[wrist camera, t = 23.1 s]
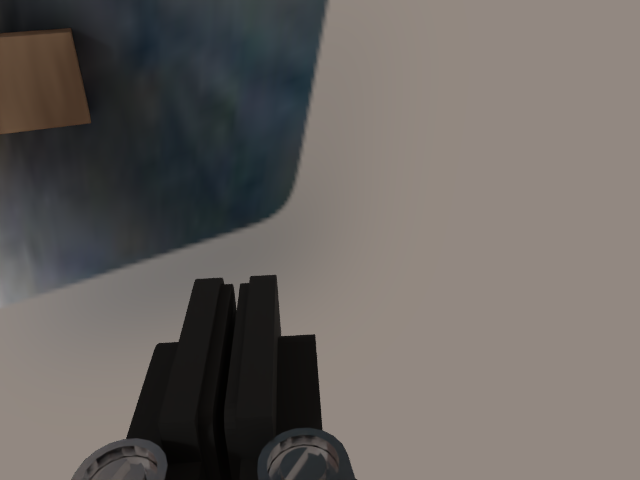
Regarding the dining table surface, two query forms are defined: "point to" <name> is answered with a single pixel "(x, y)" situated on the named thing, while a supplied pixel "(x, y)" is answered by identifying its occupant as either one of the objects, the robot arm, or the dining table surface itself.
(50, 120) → the end domino
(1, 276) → the dining table surface
